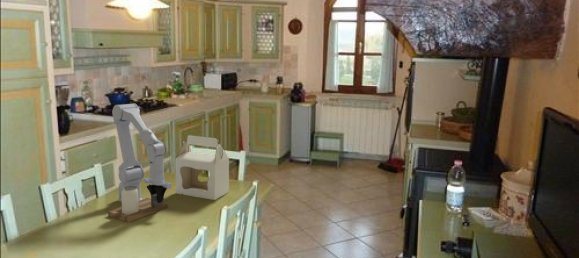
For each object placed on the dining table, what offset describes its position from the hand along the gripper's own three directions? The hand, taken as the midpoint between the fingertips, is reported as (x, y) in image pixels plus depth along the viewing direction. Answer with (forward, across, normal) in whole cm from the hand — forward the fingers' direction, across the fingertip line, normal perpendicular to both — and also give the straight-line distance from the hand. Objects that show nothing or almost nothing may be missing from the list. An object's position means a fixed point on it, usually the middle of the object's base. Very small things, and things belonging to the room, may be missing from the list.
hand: (157, 201), depth 192 cm
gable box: (+4, 0, +29) cm, 29 cm away
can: (+4, -4, -11) cm, 12 cm away
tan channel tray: (+4, -5, -6) cm, 9 cm away
